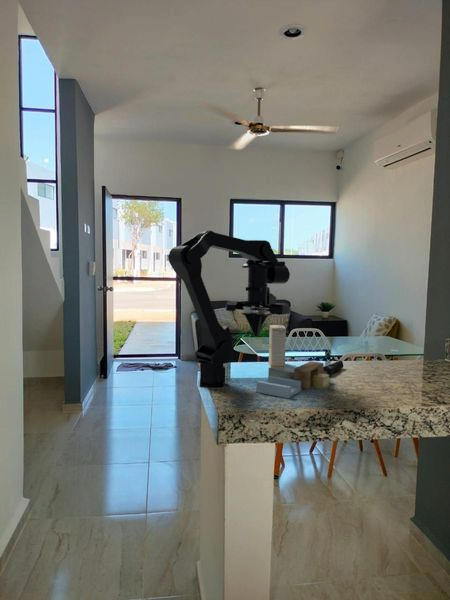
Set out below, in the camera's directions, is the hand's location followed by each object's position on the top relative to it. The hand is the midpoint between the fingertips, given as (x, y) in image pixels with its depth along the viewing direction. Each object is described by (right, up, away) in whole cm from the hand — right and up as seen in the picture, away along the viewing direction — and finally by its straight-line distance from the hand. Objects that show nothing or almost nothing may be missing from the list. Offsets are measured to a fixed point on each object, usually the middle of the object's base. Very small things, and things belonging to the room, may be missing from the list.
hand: (256, 336), depth 124 cm
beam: (+14, -13, -7) cm, 20 cm away
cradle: (+5, -13, -15) cm, 20 cm away
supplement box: (+8, -11, +16) cm, 21 cm away
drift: (+8, -13, -4) cm, 15 cm away
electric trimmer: (+24, -12, +7) cm, 28 cm away
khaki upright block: (+15, -13, -9) cm, 22 cm away
